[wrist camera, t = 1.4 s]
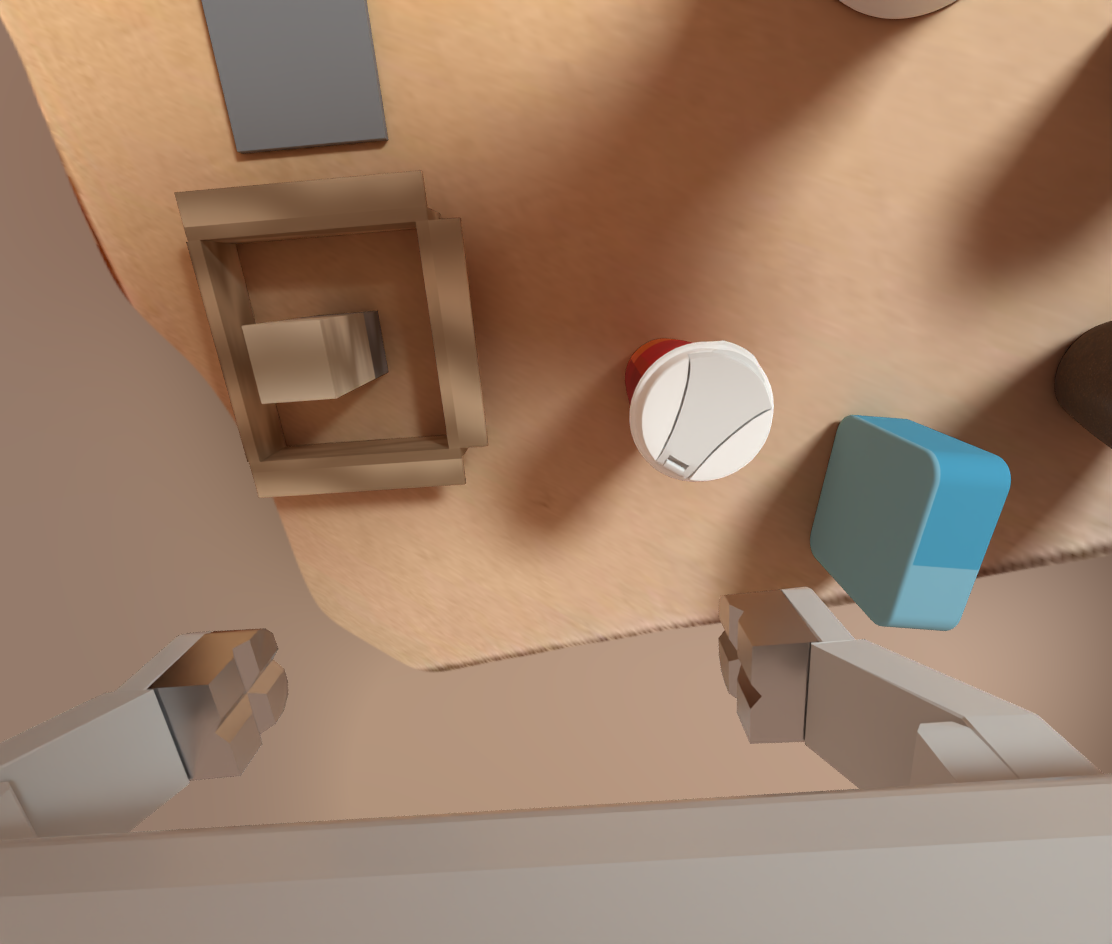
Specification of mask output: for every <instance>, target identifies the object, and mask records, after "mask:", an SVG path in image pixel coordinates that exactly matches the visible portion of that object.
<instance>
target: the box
mask: <svg viewBox="0 0 1112 944" xmlns="http://www.w3.org/2000/svg"><path fill="white" fill-rule="evenodd" d="M242 330H243V334H244V338H245V341H246V345H247V349H248V353H249V357H250V361H251V365H252V368H253V372H254V376H255V380H256V384H257V388H258V392H259V396H260V399H261V403H262V404H268V403H282V402H296V401H309V400H323V399H336V398H338V397H340V396H342V395H344V394H346V393H348V392H350V391H352V390H354V389H356V388H358V387H360V386H362V385H364V384H366V383H368V382H370V381H372V380H374V379H376V378H378V377H379V376H381V375H383V374H385V373H387V372H388V367H387V361H386V355H385V350H384V344H383V338H382V333H381V327H380V321H379V316H378V311H367V312H354V313H342V314H329V315H317V316H310V317H302V318H295V319H288V320H280V321H273V322H265V323H258V324H251V325H243V326H242Z"/></svg>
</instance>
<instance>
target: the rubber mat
mask: <svg viewBox="0 0 1112 944" xmlns="http://www.w3.org/2000/svg"><path fill="white" fill-rule="evenodd" d="M201 1H202V5H203V9H204V13H205V18H206V22H207V26H208V30H209V34H210V39H211V43H212V47H213V51H214V55H215V60H216V64H217V68H218V72H219V77H220V81H221V85H222V89H223V93H224V98H225V102H226V106H227V110H228V114H229V119H230V123H231V127H232V131H233V136H234V140H235V144H236V148H237V152H239V153H242V154H244V153H255V152H266V151H276V150H287V149H298V148H309V147H320V146H330V145H341V144H352V143H363V142H374V141H384V140H388V136H387V129H386V123H385V116H384V110H383V103H382V97H381V91H380V84H379V78H378V71H377V65H376V58H375V52H374V46H373V39H372V33H371V26H370V20H369V14H368V7H367V1H366V0H201Z"/></svg>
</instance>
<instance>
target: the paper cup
mask: <svg viewBox="0 0 1112 944" xmlns="http://www.w3.org/2000/svg"><path fill="white" fill-rule="evenodd" d="M625 384H626V390H627V395H628V399H629V403H630V414H629V423H630V429H631V434H632V437H633V440H634V443H635V445H636V447H637V449H638V450H639V452H640V454H641V455H642V456H643V458H644V459H645V460H646V461H647V462H648V463H649V464H650V465H651V466H652V467H653V468H655V469H656V470H658V471H659V472H661V473H663V474H665V475H667V476H669V477H671V478H675V479H678V480H683V481H691V482H696V481H710V480H716V479H720V478H723V477H726V476H728V475H730V474H733V473H735V472H737V471H738V470H740V469H741V468H743V467H744V466H746V465H747V464H748V463H749V462H750V461H751V460H752V459H753V458H754V457H755V456H756V455H757V453H758V452H759V451H760V450H761V448H762V446H763V445H764V443H765V441H766V439H767V437H768V434H769V432H770V428H771V424H772V418H773V409H774V404H773V394H772V390H771V385H770V383H769V381H768V378H767V376H766V374H765V373H764V371H763V370H762V368H761V367H760V365H759V363H758V361H757V360H756V358H755V356H754V355H753V354H751V353H750V352H749V351H747V350H746V349H744V348H742V347H740V346H738V345H736V344H734V343H731V342H727V341H724V340H723V341H708V342H695V343H692V342H687V341H682V340H676V339H668V338H663V339H656V340H652V341H650V342H648V343H646V344H644V345H642V346H641V347H640V348H639V349H637V350H636V352H635V353H634V354H633V355H632V357H631V358H630V360H629V362H628V365H627V368H626V373H625Z"/></svg>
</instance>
